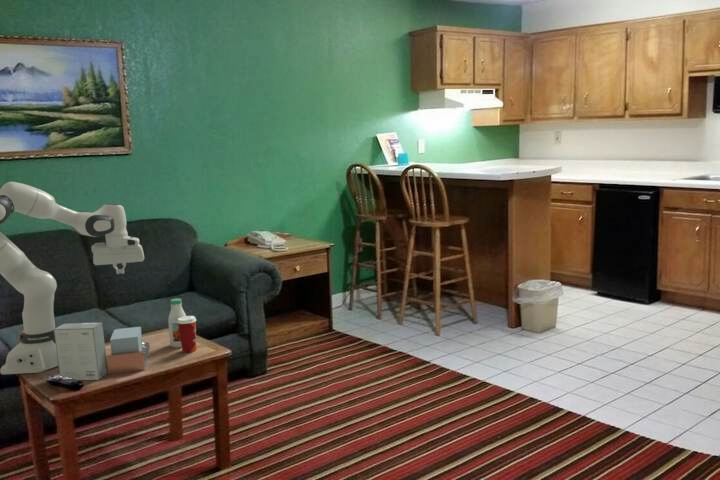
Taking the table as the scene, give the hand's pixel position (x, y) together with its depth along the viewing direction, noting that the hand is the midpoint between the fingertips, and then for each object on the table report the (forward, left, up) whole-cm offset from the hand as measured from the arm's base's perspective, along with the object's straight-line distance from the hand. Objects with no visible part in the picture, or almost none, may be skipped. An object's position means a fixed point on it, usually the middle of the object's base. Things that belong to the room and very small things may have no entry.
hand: (120, 273), depth 277 cm
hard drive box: (-12, -36, -31) cm, 49 cm away
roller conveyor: (+3, -21, -31) cm, 38 cm away
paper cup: (+26, -19, -31) cm, 45 cm away
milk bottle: (+22, -10, -31) cm, 40 cm away
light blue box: (+3, -26, -28) cm, 38 cm away
